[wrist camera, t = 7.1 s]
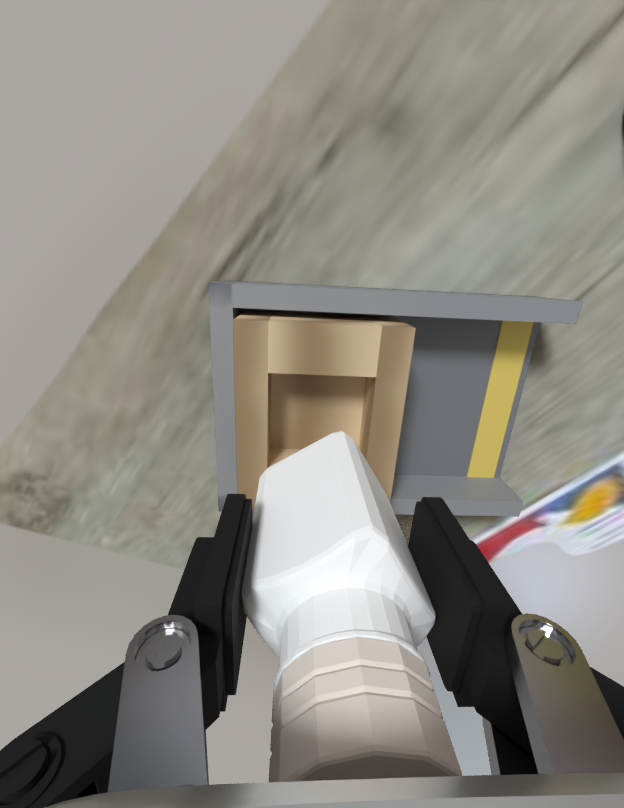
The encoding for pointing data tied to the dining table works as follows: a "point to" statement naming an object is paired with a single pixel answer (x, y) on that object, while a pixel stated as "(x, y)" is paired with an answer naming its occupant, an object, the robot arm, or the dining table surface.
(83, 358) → the dining table surface
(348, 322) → the shaker cabinet door
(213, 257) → the dining table surface
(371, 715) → the salt shaker
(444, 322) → the tray
